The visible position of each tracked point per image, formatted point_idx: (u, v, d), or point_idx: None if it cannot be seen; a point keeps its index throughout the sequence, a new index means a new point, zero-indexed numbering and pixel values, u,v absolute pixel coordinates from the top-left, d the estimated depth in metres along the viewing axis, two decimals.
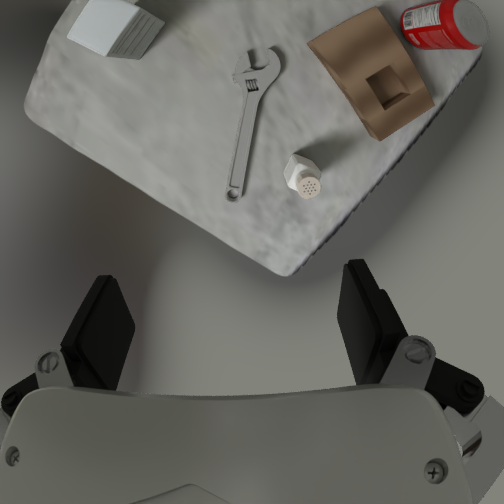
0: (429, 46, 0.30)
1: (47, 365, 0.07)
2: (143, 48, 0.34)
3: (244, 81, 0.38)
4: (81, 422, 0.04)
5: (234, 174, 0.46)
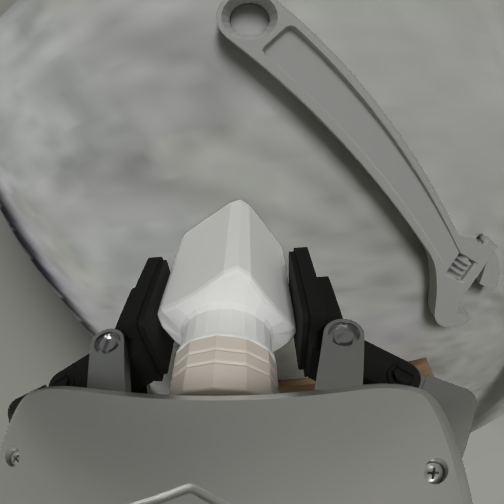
0: None
1: (105, 345, 0.08)
2: None
3: (476, 259, 0.15)
4: (81, 422, 0.04)
5: (318, 66, 0.10)
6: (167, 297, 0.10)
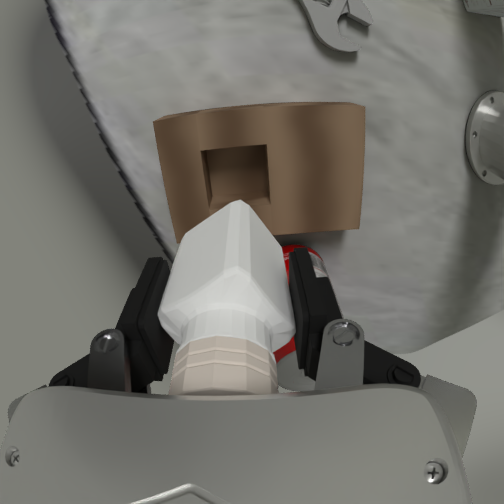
0: None
1: (105, 345, 0.08)
2: None
3: None
4: (81, 422, 0.04)
5: None
6: (167, 297, 0.10)
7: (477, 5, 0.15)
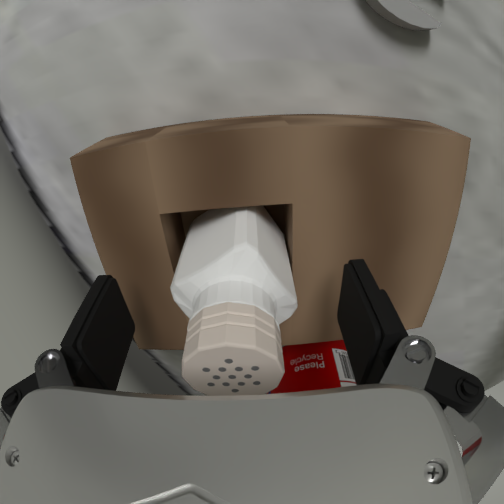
0: None
1: (47, 365, 0.07)
2: None
3: None
4: (81, 422, 0.04)
5: None
6: (180, 273, 0.11)
7: None
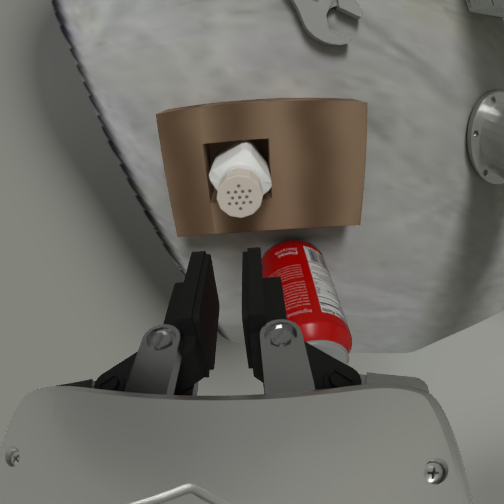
0: (271, 270, 0.30)
1: (159, 341, 0.08)
2: None
3: None
4: (81, 422, 0.04)
5: None
6: (214, 167, 0.23)
7: (479, 5, 0.15)
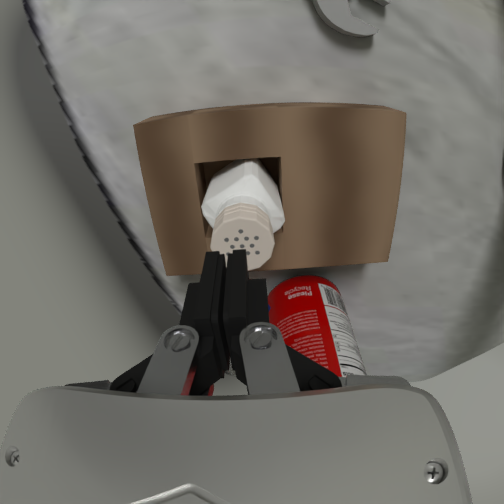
0: (280, 315, 0.25)
1: (177, 343, 0.08)
2: None
3: None
4: (81, 422, 0.04)
5: None
6: (208, 197, 0.18)
7: None
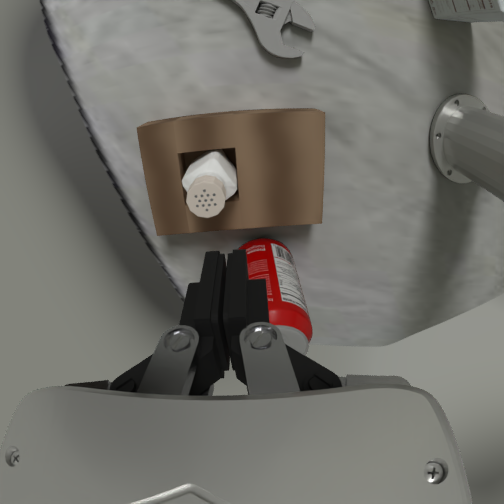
0: None
1: (177, 343, 0.08)
2: None
3: (277, 4, 0.22)
4: (81, 422, 0.04)
5: None
6: (186, 174, 0.26)
7: (443, 12, 0.20)
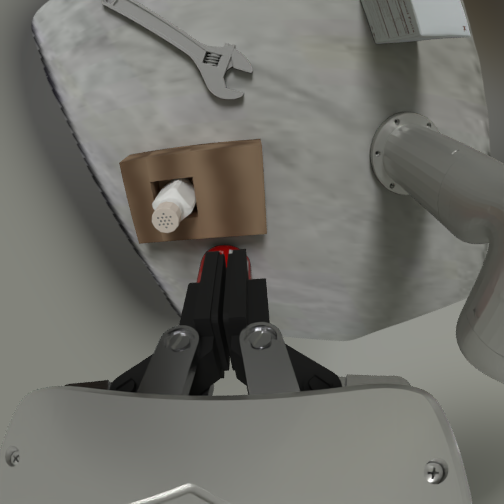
0: None
1: (177, 343, 0.08)
2: (368, 8, 0.25)
3: (220, 53, 0.30)
4: (81, 422, 0.04)
5: (129, 4, 0.25)
6: (155, 199, 0.35)
7: (380, 38, 0.27)
